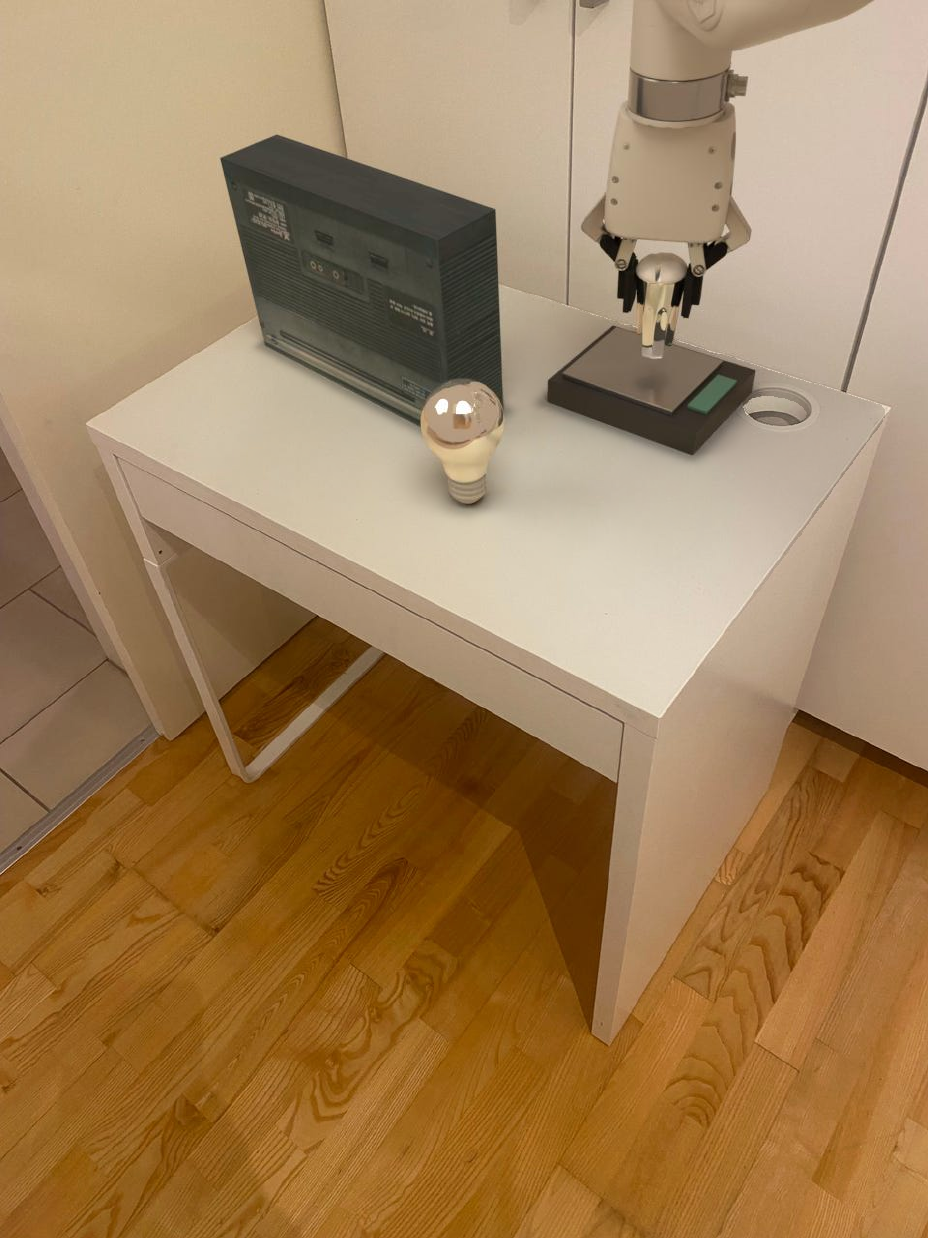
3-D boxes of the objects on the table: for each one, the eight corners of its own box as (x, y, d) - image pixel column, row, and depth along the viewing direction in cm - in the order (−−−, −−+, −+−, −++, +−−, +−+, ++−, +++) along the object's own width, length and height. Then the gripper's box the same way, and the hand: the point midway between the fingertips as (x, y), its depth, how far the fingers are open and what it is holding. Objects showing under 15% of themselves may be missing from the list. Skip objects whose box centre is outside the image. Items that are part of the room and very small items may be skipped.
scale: (752, 392, 94) (757, 364, 91) (692, 455, 87) (696, 427, 85) (611, 346, 101) (613, 319, 99) (547, 401, 95) (547, 374, 92)
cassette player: (503, 411, 94) (495, 209, 80) (454, 444, 91) (437, 240, 76) (312, 318, 109) (276, 134, 94) (265, 344, 106) (220, 157, 91)
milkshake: (624, 364, 89) (631, 262, 82) (634, 335, 93) (641, 234, 86) (673, 370, 88) (685, 266, 81) (681, 339, 92) (693, 238, 84)
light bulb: (457, 537, 82) (446, 420, 73) (415, 496, 86) (400, 380, 77) (523, 504, 84) (520, 387, 75) (479, 466, 88) (471, 351, 80)
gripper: (793, 77, 74) (756, 295, 88) (579, 71, 78) (575, 280, 92) (787, 113, 69) (749, 338, 83) (559, 104, 74) (557, 320, 87)
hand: (657, 305), depth 87 cm, fingers closed on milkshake, 4 cm apart
